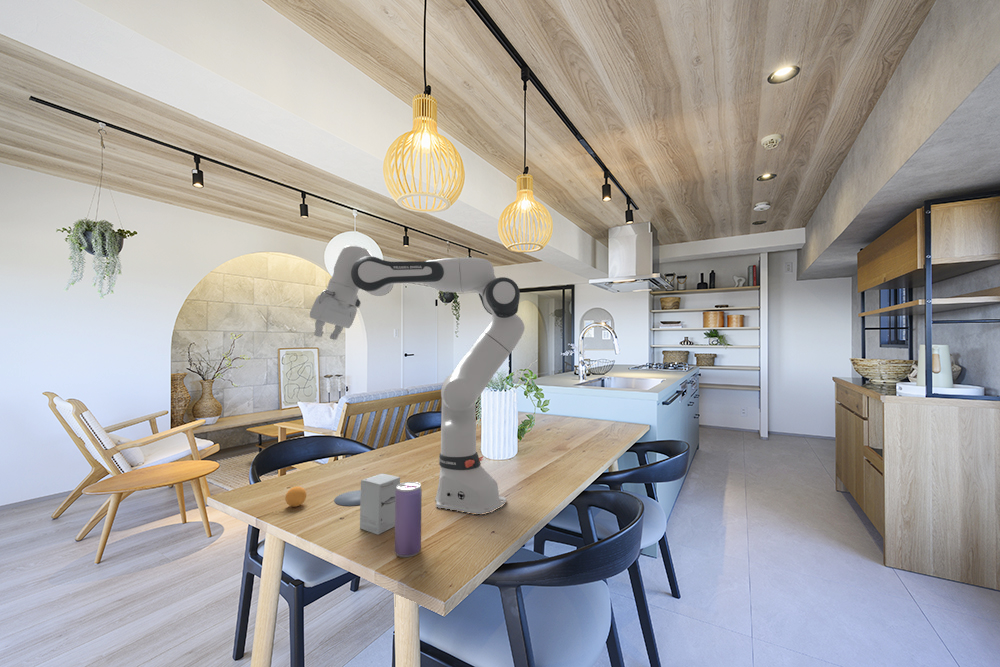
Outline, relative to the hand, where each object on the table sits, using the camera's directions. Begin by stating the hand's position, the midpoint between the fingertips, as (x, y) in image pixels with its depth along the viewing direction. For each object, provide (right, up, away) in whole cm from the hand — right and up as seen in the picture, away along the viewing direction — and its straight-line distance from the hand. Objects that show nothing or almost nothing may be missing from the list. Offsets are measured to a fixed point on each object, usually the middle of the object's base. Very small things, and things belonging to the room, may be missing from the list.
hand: (325, 337), depth 123 cm
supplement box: (+22, -50, -18) cm, 57 cm away
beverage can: (+32, -49, -31) cm, 67 cm away
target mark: (+9, -50, +3) cm, 51 cm away
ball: (-7, -47, -4) cm, 48 cm away
